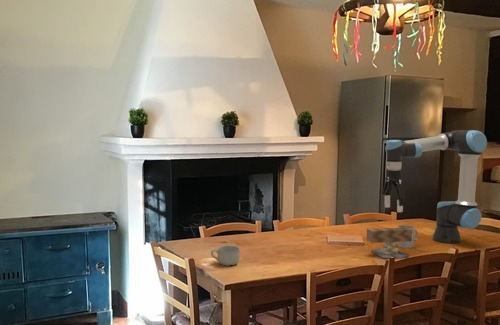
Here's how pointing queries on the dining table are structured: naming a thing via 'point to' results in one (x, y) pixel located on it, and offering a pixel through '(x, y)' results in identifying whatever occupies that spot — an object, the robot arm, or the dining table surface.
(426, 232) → the dining table surface
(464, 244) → the dining table surface
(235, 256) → the teacup
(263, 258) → the dining table surface
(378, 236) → the beam
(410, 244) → the mug
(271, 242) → the dining table surface
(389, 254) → the fulcrum
